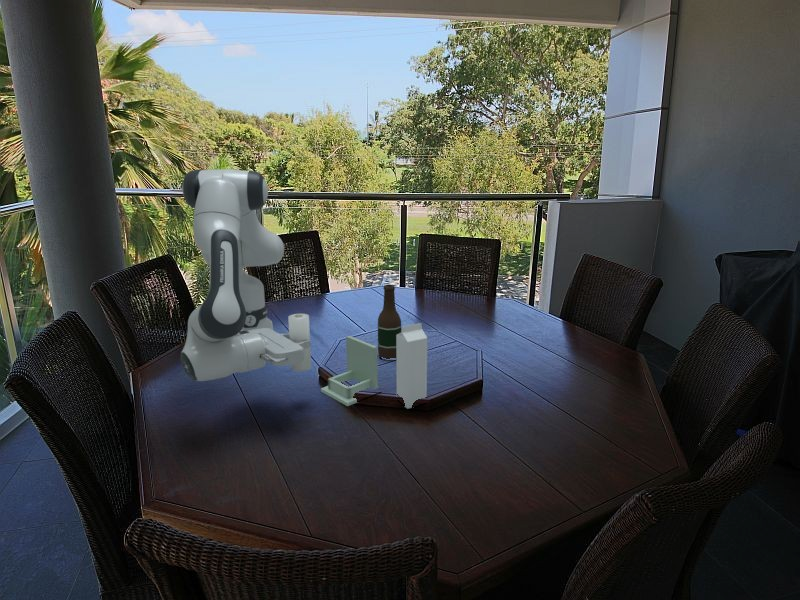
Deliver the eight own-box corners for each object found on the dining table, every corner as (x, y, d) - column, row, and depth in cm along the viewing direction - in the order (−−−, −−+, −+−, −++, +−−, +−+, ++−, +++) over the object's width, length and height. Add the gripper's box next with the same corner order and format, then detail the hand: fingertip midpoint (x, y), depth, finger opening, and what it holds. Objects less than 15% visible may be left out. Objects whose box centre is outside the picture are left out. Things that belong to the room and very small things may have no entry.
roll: (288, 365, 142) (285, 314, 139) (307, 362, 145) (305, 311, 141) (294, 372, 138) (291, 319, 134) (313, 369, 140) (311, 317, 136)
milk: (426, 404, 144) (428, 326, 137) (407, 409, 141) (407, 330, 135) (414, 394, 149) (416, 319, 143) (395, 399, 146) (396, 323, 140)
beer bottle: (398, 362, 171) (398, 289, 164) (375, 360, 172) (374, 288, 166) (403, 353, 178) (403, 283, 171) (380, 351, 180) (380, 281, 173)
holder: (320, 391, 151) (318, 345, 147) (354, 379, 159) (353, 334, 155) (347, 406, 142) (345, 357, 138) (381, 392, 150) (380, 345, 146)
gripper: (270, 351, 123) (322, 338, 131) (235, 328, 138) (284, 319, 147) (271, 376, 124) (323, 362, 133) (237, 351, 140) (286, 340, 148)
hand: (303, 339), depth 140 cm, fingers closed on roll, 5 cm apart
